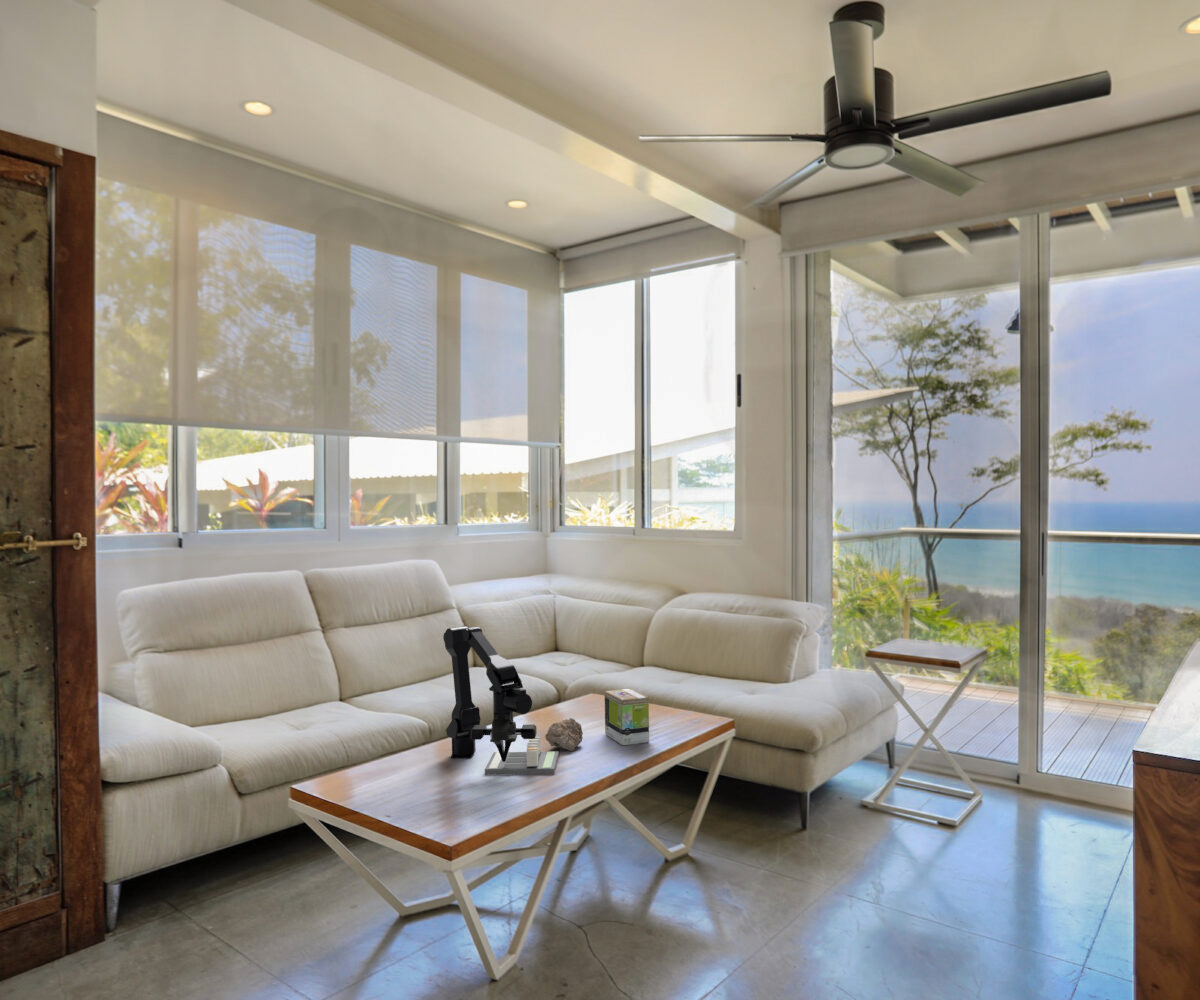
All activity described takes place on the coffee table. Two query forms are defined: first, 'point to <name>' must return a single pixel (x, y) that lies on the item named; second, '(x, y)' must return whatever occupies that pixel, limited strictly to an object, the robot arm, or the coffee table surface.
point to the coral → (565, 734)
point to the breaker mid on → (532, 745)
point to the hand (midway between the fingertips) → (504, 761)
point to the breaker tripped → (532, 756)
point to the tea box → (627, 716)
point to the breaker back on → (537, 739)
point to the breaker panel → (522, 764)
